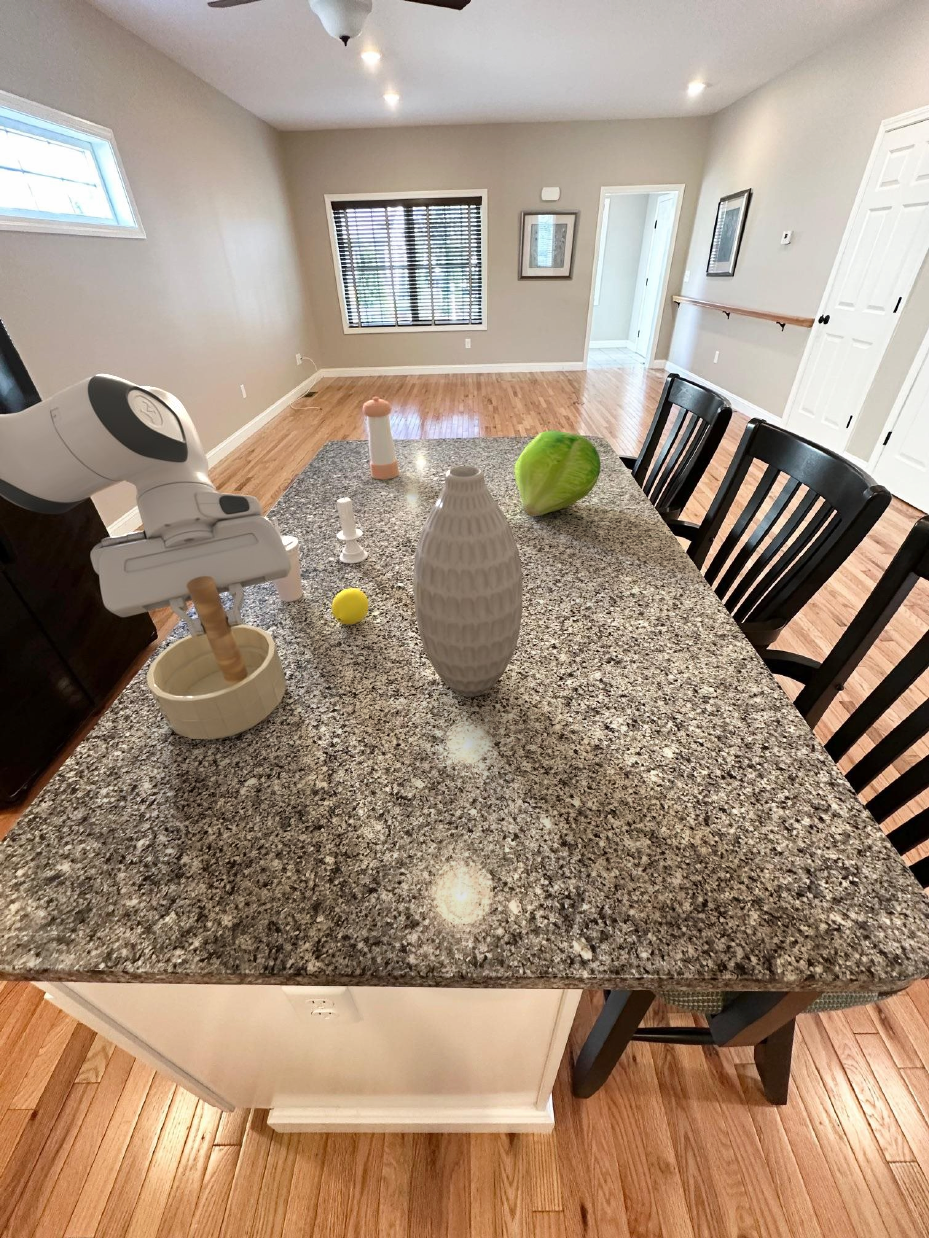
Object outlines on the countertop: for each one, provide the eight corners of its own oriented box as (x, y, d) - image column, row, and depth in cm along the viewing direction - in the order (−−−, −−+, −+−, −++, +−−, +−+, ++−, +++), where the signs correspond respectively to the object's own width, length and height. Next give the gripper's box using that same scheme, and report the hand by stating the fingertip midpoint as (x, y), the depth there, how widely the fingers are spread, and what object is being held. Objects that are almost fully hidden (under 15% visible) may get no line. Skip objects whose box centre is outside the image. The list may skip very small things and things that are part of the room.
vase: (495, 728, 61) (496, 503, 45) (404, 697, 66) (375, 483, 50) (533, 665, 70) (545, 460, 54) (451, 642, 75) (439, 447, 59)
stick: (226, 687, 64) (188, 591, 55) (222, 674, 66) (184, 580, 57) (250, 678, 65) (215, 583, 57) (245, 666, 67) (211, 573, 59)
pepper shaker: (366, 478, 133) (355, 400, 122) (377, 469, 139) (367, 393, 128) (393, 480, 131) (384, 400, 120) (402, 470, 137) (394, 394, 126)
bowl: (176, 762, 58) (152, 719, 54) (162, 689, 68) (142, 648, 64) (301, 712, 64) (288, 669, 60) (271, 652, 74) (259, 612, 70)
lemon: (348, 606, 83) (342, 577, 80) (378, 611, 82) (373, 582, 79) (326, 631, 78) (319, 601, 75) (357, 636, 77) (352, 606, 74)
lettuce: (488, 503, 116) (502, 465, 100) (536, 442, 121) (557, 396, 105) (549, 547, 116) (573, 516, 100) (594, 483, 121) (625, 444, 105)
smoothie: (313, 600, 85) (294, 522, 77) (273, 609, 83) (250, 530, 75) (308, 582, 90) (290, 507, 82) (270, 590, 88) (248, 514, 80)
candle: (373, 554, 98) (365, 494, 91) (354, 566, 94) (343, 504, 88) (353, 548, 101) (343, 489, 94) (333, 559, 97) (321, 499, 90)
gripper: (74, 531, 55) (108, 652, 54) (269, 494, 62) (304, 600, 61) (96, 551, 61) (127, 661, 60) (272, 515, 68) (304, 612, 67)
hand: (218, 630), depth 60 cm, fingers closed on stick, 3 cm apart
